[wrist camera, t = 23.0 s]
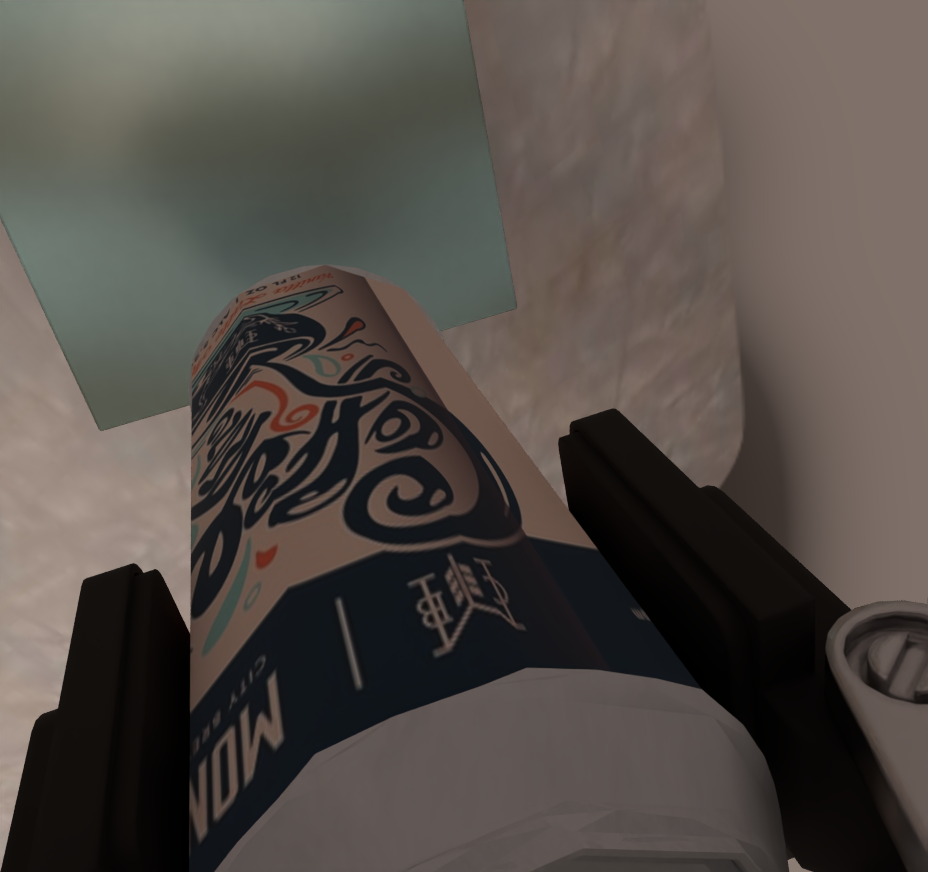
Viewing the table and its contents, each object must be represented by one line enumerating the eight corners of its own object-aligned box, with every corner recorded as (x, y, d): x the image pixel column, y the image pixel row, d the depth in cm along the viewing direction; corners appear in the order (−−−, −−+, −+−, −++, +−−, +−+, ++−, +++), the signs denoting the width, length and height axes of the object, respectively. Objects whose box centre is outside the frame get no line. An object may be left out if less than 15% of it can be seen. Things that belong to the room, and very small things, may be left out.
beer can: (288, 201, 15) (518, 678, 4) (492, 347, 17) (966, 891, 6) (136, 418, 15) (20, 1246, 5) (349, 530, 18) (565, 1261, 7)
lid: (-176, -178, 18) (-313, -249, 13) (405, -283, 20) (475, -377, 15) (102, 421, 25) (80, 521, 20) (509, 301, 27) (580, 366, 22)
